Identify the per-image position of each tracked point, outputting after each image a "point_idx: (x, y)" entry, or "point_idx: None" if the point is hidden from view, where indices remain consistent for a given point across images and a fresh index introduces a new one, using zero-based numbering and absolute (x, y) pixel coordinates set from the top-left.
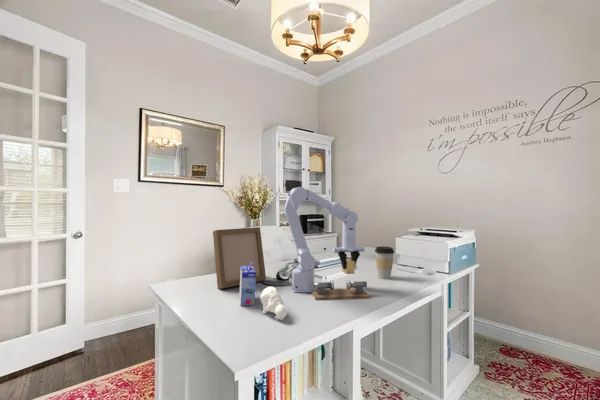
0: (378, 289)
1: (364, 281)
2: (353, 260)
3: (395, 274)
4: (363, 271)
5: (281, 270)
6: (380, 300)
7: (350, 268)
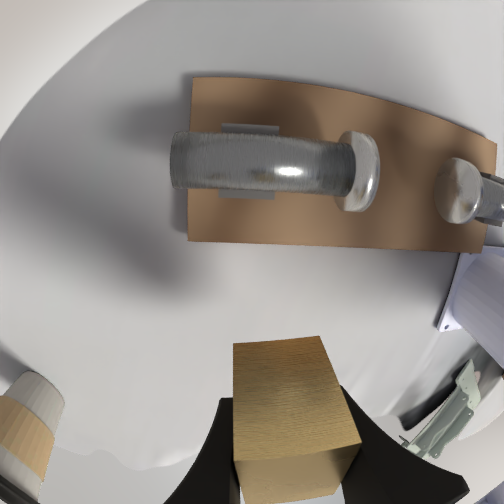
0: (79, 242)
1: (186, 162)
2: (233, 478)
3: None
4: (120, 459)
5: (459, 427)
6: (148, 43)
7: (287, 380)
